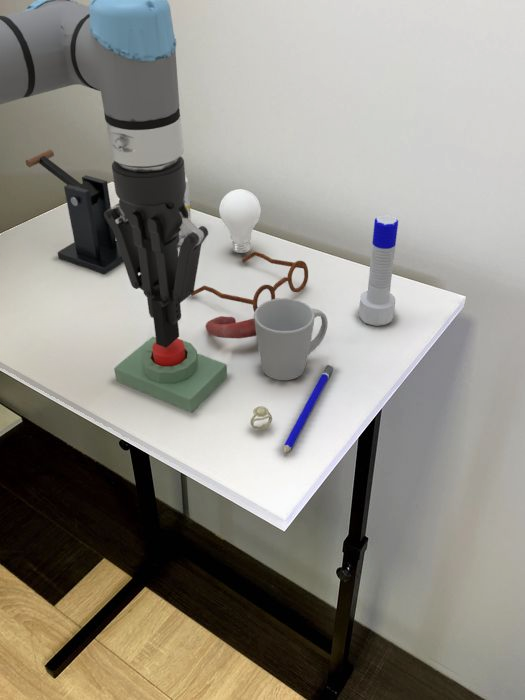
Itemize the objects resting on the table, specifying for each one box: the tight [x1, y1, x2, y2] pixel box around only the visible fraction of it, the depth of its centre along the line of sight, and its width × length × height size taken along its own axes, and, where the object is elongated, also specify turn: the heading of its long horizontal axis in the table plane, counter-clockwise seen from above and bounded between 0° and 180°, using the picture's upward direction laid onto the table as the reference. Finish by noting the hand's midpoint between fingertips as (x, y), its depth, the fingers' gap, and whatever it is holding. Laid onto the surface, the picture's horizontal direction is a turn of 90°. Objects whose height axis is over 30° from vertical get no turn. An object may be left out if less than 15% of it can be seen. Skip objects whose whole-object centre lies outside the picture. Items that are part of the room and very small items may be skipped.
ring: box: [250, 406, 273, 431], centre depth 83 cm, size 3×2×3 cm
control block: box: [113, 336, 228, 414], centre depth 90 cm, size 12×8×4 cm, turn 59°
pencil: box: [282, 364, 334, 455], centre depth 86 cm, size 17×1×1 cm
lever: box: [25, 149, 100, 205], centre depth 111 cm, size 12×5×2 cm, turn 59°
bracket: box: [57, 174, 124, 275], centre depth 113 cm, size 10×8×13 cm
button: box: [152, 337, 185, 366], centre depth 89 cm, size 4×4×2 cm
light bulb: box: [218, 188, 262, 254], centre depth 114 cm, size 7×7×11 cm
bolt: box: [358, 214, 399, 327], centre depth 98 cm, size 16×5×5 cm
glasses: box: [190, 251, 309, 313], centre depth 106 cm, size 13×13×5 cm
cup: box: [253, 297, 329, 381], centre depth 91 cm, size 8×10×8 cm
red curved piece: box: [205, 297, 280, 339], centre depth 97 cm, size 11×6×12 cm
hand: (168, 340), depth 88 cm, fingers closed
